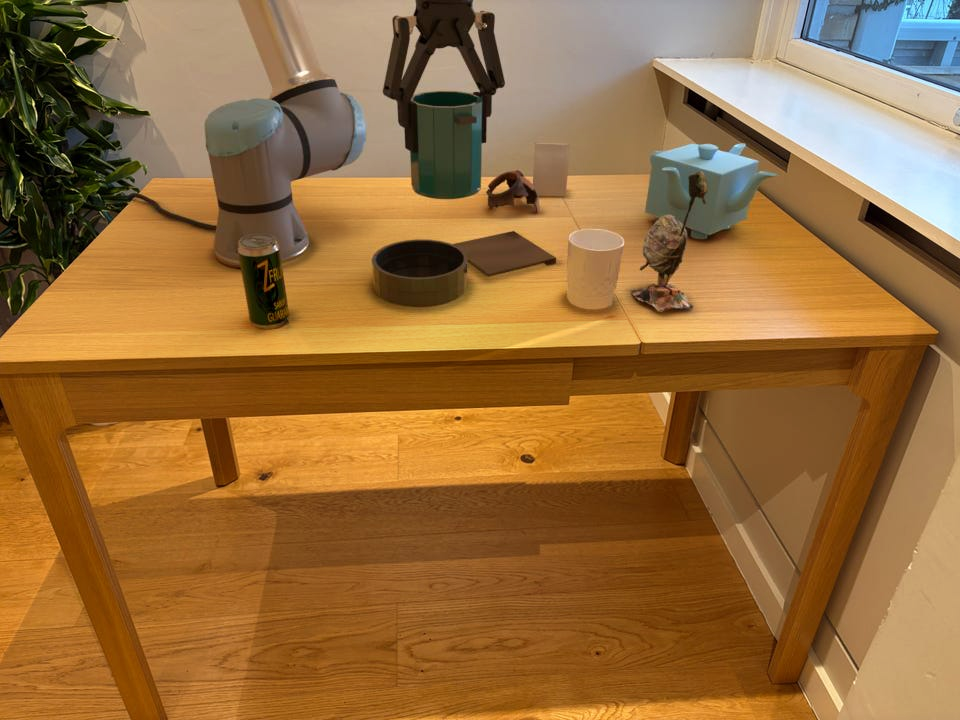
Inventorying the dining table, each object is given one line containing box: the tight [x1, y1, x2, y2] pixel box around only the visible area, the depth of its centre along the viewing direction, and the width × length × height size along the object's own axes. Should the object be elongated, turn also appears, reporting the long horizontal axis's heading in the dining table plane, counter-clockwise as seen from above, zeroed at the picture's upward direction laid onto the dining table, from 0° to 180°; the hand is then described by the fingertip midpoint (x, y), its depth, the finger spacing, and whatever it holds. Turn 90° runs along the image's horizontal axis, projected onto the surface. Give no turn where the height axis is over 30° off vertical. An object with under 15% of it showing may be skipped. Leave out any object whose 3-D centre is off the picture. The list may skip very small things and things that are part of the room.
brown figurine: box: [630, 171, 708, 313], centre depth 104 cm, size 8×11×20 cm
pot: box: [409, 90, 483, 200], centre depth 102 cm, size 13×10×12 cm
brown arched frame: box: [485, 169, 541, 214], centre depth 139 cm, size 12×10×8 cm
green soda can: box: [238, 234, 290, 330], centre depth 98 cm, size 5×5×12 cm
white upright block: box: [532, 142, 570, 198], centre depth 145 cm, size 4×7×10 cm, turn 86°
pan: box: [371, 238, 469, 308], centre depth 109 cm, size 14×14×5 cm
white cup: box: [566, 228, 625, 310], centre depth 105 cm, size 8×8×10 cm
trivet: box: [452, 230, 557, 278], centre depth 120 cm, size 13×13×1 cm
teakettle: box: [644, 142, 778, 240], centre depth 130 cm, size 19×19×15 cm
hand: (446, 145), depth 102 cm, fingers closed on pot, 10 cm apart
